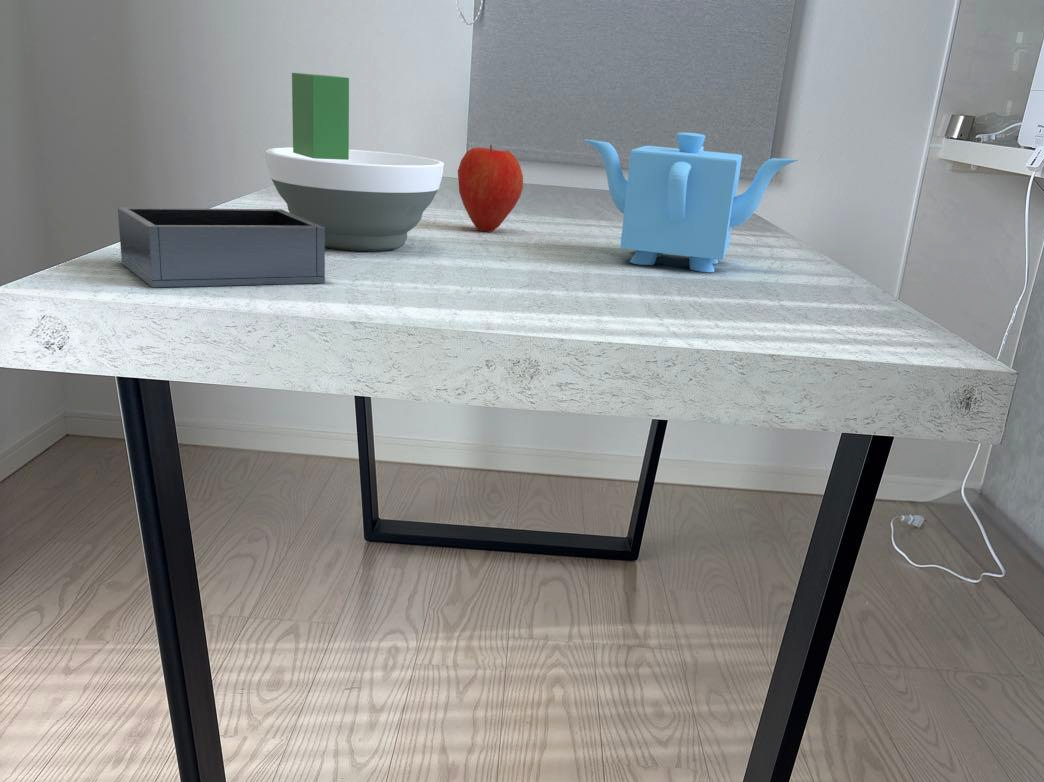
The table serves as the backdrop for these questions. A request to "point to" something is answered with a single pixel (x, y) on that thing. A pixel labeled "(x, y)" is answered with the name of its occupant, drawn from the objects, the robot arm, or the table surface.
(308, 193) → the bowl
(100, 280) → the table surface
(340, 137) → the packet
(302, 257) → the grey open box
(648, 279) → the table surface
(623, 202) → the teakettle
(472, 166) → the apple
